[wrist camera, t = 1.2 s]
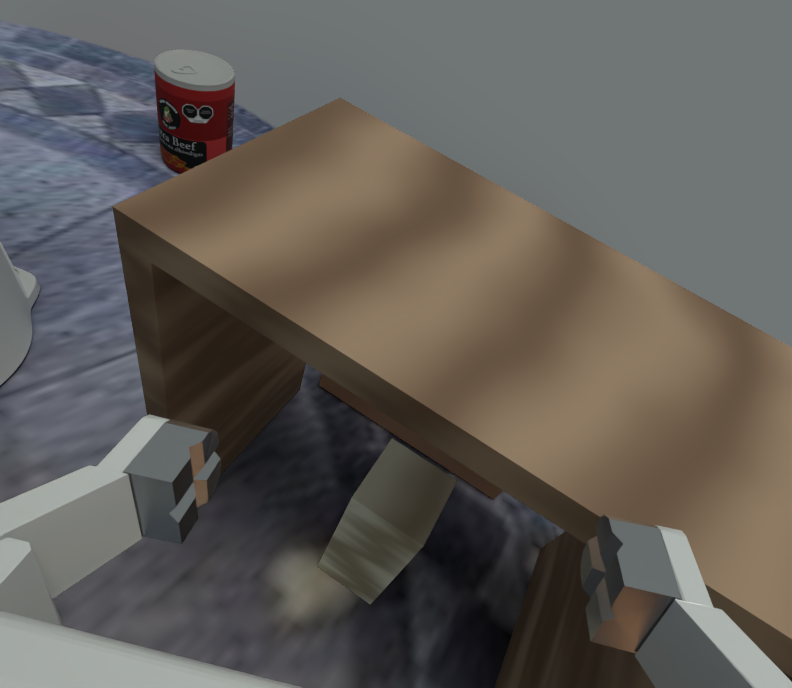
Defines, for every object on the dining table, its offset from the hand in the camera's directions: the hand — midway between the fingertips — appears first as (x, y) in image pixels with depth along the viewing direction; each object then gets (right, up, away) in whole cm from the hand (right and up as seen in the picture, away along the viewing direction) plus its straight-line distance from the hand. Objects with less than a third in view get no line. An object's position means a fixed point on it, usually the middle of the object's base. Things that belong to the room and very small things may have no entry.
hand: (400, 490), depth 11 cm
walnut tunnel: (-2, -11, +28) cm, 30 cm away
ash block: (-3, -12, +26) cm, 29 cm away
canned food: (-24, +25, +51) cm, 62 cm away
